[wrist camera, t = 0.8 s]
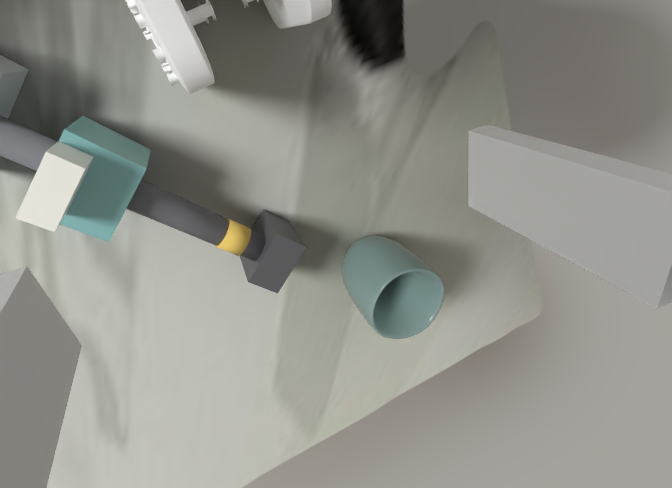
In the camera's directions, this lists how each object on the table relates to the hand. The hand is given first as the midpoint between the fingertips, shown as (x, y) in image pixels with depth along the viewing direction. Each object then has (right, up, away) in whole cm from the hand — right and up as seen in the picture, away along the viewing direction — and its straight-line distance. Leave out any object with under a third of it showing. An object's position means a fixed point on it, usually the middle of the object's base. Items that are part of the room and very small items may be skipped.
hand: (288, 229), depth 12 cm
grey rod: (-14, +4, +19) cm, 24 cm away
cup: (+5, -2, +33) cm, 34 cm away
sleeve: (-17, +6, +20) cm, 27 cm away
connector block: (-6, 0, +28) cm, 28 cm away
